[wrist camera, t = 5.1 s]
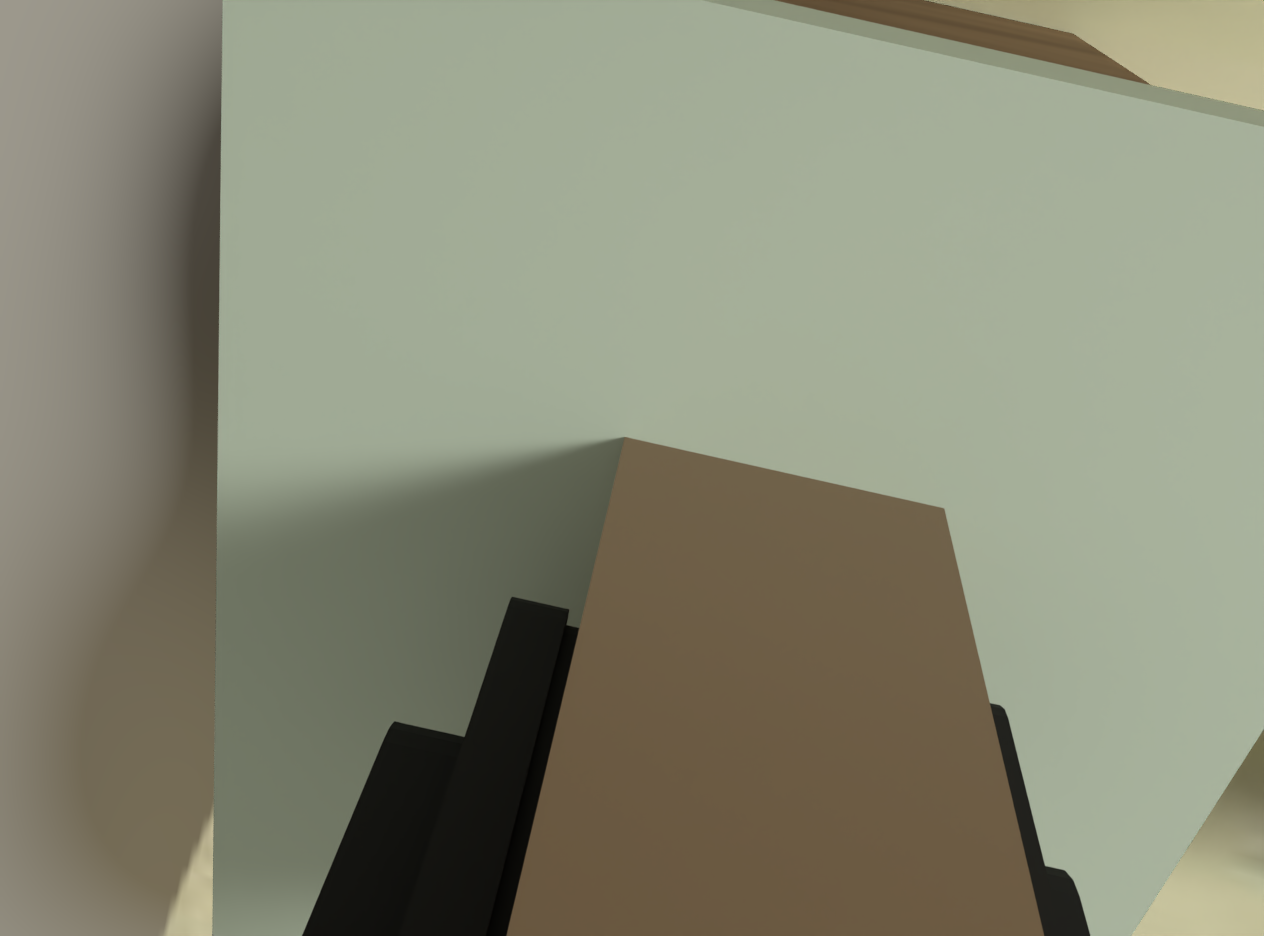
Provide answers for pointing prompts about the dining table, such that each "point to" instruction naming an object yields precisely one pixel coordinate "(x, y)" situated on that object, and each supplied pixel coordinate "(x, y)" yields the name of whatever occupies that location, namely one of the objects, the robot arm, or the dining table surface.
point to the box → (977, 31)
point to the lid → (736, 455)
